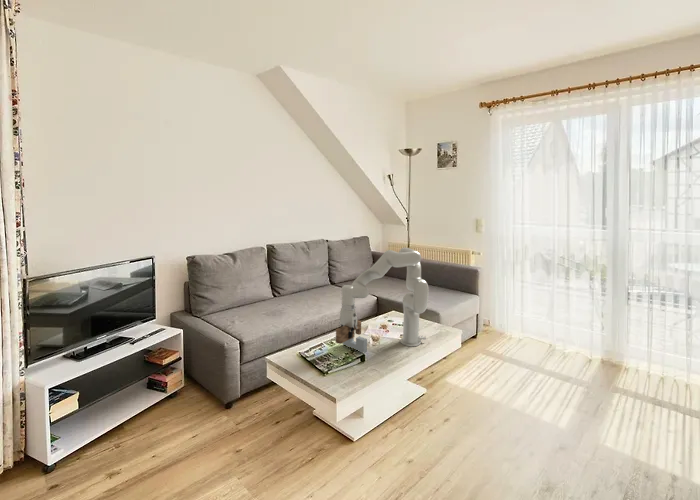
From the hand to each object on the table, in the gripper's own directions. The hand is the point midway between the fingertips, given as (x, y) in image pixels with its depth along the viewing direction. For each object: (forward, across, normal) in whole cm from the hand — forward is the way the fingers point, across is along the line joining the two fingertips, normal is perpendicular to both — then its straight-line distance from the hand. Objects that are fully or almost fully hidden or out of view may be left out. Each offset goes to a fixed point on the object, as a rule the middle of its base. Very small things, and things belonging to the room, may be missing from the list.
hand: (348, 336), depth 226 cm
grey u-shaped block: (+10, 0, -6) cm, 12 cm away
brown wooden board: (+1, 0, -1) cm, 1 cm away
